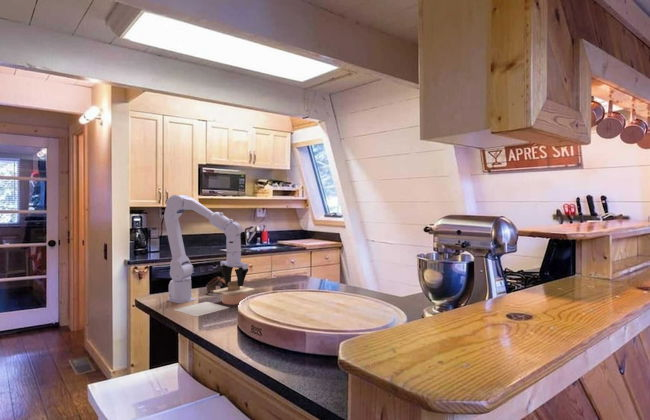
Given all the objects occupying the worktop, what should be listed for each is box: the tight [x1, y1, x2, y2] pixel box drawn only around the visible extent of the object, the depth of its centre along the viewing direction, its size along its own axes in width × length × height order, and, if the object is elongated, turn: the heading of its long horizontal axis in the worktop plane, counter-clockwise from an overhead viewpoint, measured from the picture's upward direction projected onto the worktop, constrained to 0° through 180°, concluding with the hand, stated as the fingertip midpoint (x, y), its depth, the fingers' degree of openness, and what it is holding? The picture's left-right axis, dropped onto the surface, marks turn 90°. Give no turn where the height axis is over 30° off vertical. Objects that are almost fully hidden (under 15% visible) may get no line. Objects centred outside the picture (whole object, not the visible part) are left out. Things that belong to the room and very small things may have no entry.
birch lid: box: [212, 279, 256, 296], centre depth 173 cm, size 12×12×4 cm
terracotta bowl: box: [221, 292, 248, 305], centre depth 173 cm, size 10×10×4 cm
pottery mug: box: [205, 276, 228, 293], centre depth 191 cm, size 12×10×8 cm
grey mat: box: [173, 301, 230, 317], centre depth 162 cm, size 15×15×1 cm
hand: (234, 284), depth 173 cm, fingers open, 7 cm apart
